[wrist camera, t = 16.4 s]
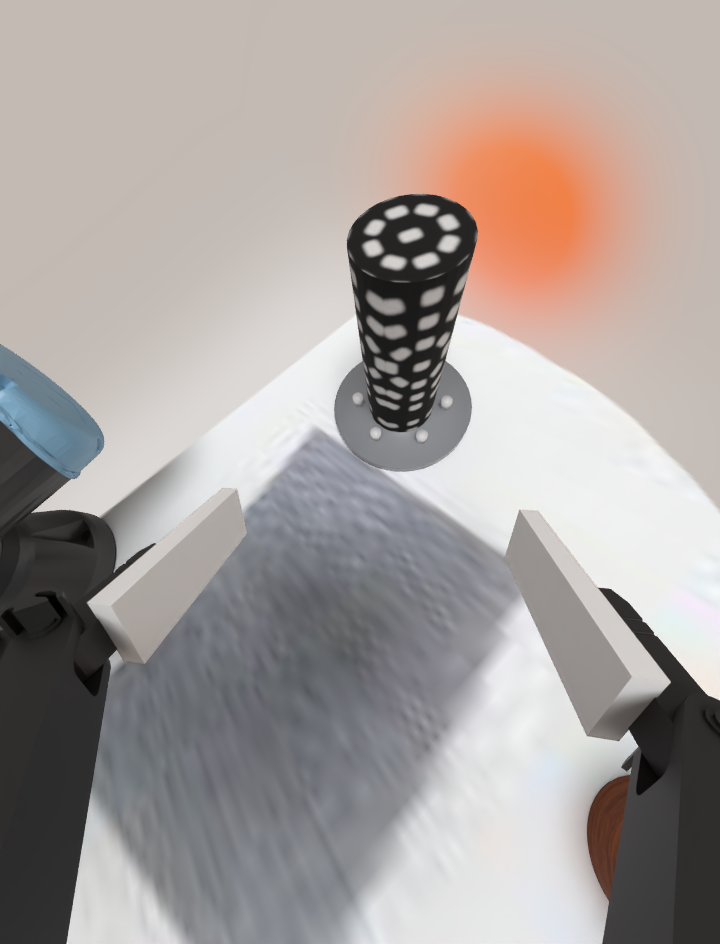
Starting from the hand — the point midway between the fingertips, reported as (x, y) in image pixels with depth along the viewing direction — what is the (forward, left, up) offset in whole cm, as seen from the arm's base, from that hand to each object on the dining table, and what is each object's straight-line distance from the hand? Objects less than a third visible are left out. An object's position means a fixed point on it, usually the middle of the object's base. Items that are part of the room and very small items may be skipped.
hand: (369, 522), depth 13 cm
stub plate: (+1, +19, -21) cm, 28 cm away
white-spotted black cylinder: (+1, +19, -19) cm, 27 cm away
